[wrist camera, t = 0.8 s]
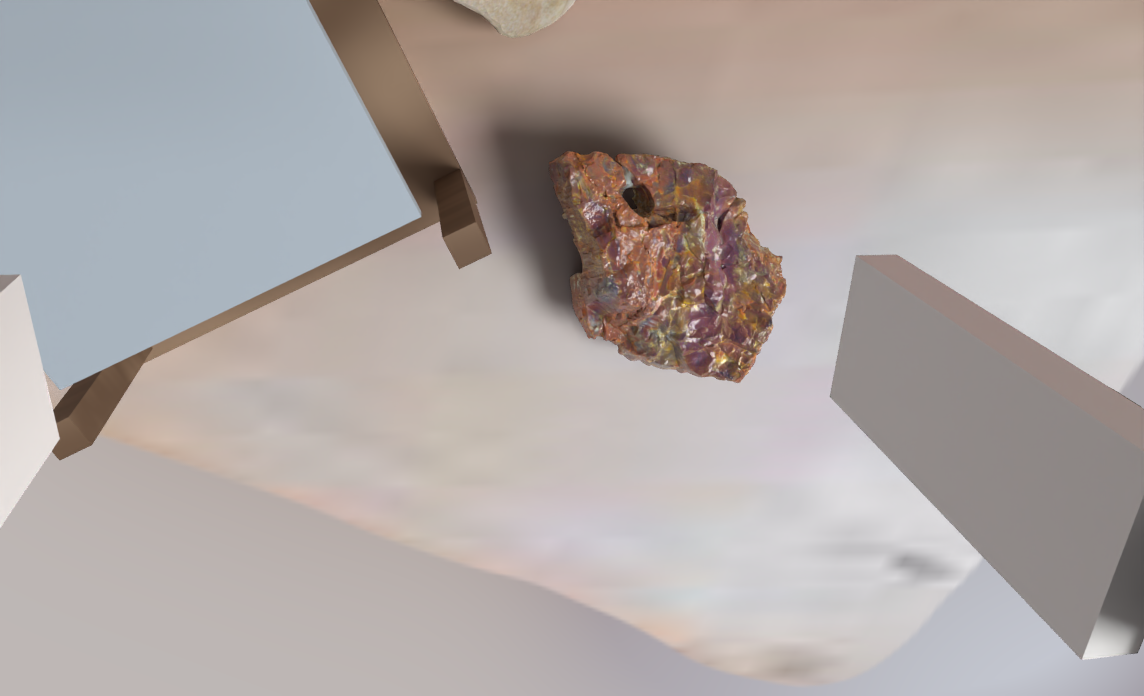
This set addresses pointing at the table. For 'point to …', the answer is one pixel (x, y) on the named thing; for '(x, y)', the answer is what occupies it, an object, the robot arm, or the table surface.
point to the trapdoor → (175, 165)
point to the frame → (440, 196)
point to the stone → (519, 14)
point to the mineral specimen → (667, 263)
